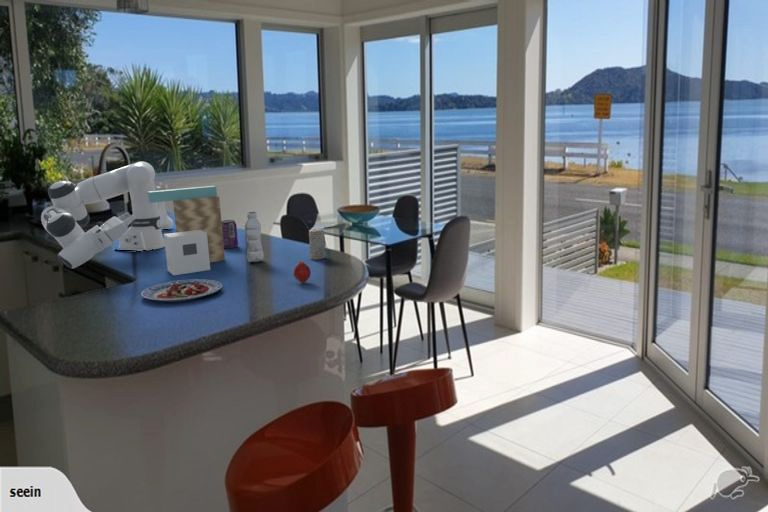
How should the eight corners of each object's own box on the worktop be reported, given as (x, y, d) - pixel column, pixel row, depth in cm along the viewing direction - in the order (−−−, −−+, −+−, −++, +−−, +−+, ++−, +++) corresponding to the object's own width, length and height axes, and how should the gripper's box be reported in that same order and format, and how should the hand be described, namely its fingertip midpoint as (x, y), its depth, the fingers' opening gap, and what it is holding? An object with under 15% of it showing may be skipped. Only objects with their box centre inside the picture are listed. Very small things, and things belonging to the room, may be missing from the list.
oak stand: (185, 265, 263) (178, 200, 258) (179, 261, 272) (172, 198, 266) (225, 260, 271) (219, 196, 266) (217, 256, 280) (211, 194, 274)
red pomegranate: (294, 281, 231) (293, 259, 230) (311, 280, 232) (309, 258, 230) (294, 285, 226) (292, 262, 224) (311, 284, 226) (309, 261, 225)
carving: (310, 261, 263) (308, 231, 261) (309, 257, 270) (307, 228, 268) (326, 260, 264) (324, 230, 261) (325, 256, 271) (323, 227, 269)
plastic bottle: (267, 260, 267) (263, 211, 263) (258, 264, 261) (254, 214, 257) (253, 259, 270) (249, 211, 265) (244, 263, 263) (240, 213, 259)
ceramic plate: (162, 285, 234) (161, 277, 234) (232, 284, 232) (232, 276, 231) (127, 306, 209) (126, 297, 209) (206, 305, 207) (205, 296, 206)
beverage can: (240, 245, 301) (238, 219, 299) (235, 248, 294) (233, 222, 292) (225, 245, 302) (222, 219, 299) (219, 249, 295) (217, 222, 292)
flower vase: (142, 230, 354) (137, 183, 349) (177, 226, 364) (172, 180, 359) (149, 233, 344) (143, 185, 338) (184, 228, 353) (179, 182, 348)
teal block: (150, 202, 256) (149, 192, 255) (148, 201, 259) (147, 191, 258) (217, 196, 268) (216, 186, 267) (214, 195, 272) (213, 185, 271)
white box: (173, 275, 248) (169, 237, 245) (167, 271, 256) (163, 234, 253) (210, 269, 255) (206, 232, 252) (203, 265, 263) (200, 229, 259)
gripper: (102, 239, 260) (131, 218, 265) (110, 247, 243) (142, 224, 247) (91, 226, 258) (121, 205, 262) (99, 233, 240) (131, 211, 245)
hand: (131, 215), depth 255 cm, fingers open, 8 cm apart
